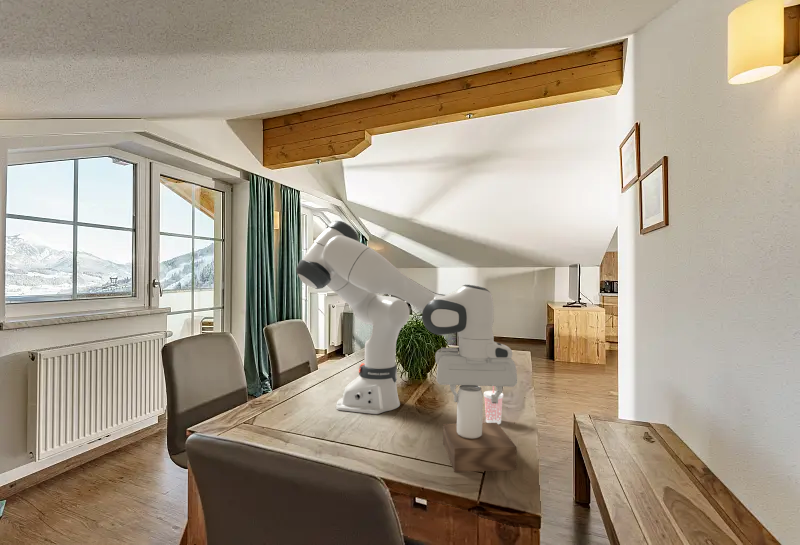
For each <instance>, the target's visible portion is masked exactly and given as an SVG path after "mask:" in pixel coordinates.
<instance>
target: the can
mask: <svg viewBox="0 0 800 545" xmlns="http://www.w3.org/2000/svg"><path fill="white" fill-rule="evenodd" d="M458 388H459V389H458V391H457V394H458V396H459V397H458V402H456V424H457V433H458V435H459V436H461V437H463V438H467V439H477V438H479V437H480V436H481V435H482V423H483V413H484V410H483V407H484V404H483V403H484V393H483V392H482V387H481V386H473V385H458Z"/></svg>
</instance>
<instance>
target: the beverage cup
mask: <svg viewBox="0 0 800 545" xmlns="http://www.w3.org/2000/svg"><path fill="white" fill-rule="evenodd" d="M496 391H497V390H495V386H492V390H486V391H484V392H483V398H484V410H485V411H484V412H485V423H497V424H498V425H500V424H502V414H503V412H502V411H503V410H502V409H503V398H504V393H503V392H501V394H500V396H499V397H498V404H495V403H492V402H491V399H492V398H491V395H494V394H495V393H496Z"/></svg>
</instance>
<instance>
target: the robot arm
mask: <svg viewBox="0 0 800 545" xmlns="http://www.w3.org/2000/svg"><path fill="white" fill-rule="evenodd" d="M325 228H326V229H324V230H323V231H322V232H321V233H320V234H319V235H318V236H317V237H316V238H315V240H313V242H312V245H310V247H309V249H308V250H307V251H306V253H305V254H304V256H303V257H302V259H300V260H299V262H298V264H297V265H296V268H295V270H296V275H297V276H298V278H299V279H300V281H301V282H302V283H303V284H304V285H306V286H308V287H310V288H312V289H316V290H320V289H324V288H325V287H326V286H327V287H328V288H329V289H331V291H333V292H334V293H335V294H336V295H337V296H338V297H339V298H341V299H342V300H343V301H344V302H345V303H346V304H348V306H349V307H350V308H351V310H352V313H353V316H354V318H355V319H356V320H357V321H359V322H360V323H362V324H365V325H367V326H368V325H369V326H372V330H371V334H370V337H369V338H368V339H367V340H366V341H365V344H364V362H362V363H361V364H360V365H359V368H358V376H357V377H355V378H354V379H353V380H352V381H350V382H349V383H348V384H346V386H345V387H344V391H343V392H342V393H343V395H342V397H339V399H338V400H337V402H336V405H335V408H336V409H337V410H338V411H343V412H345V411H346V412H353V413H354V412H356V413H364V414H371V415H379V414H381V413H385V412H388V411H392V410H396V409H397V408H399V407H400V405H401V402H400V400H399V395H398V387H397V379H398V369H397V368H398V366H397V364H396V360H397V359H396V358H397V357H396V356H397V352H396V351H397V350H396V348H397V340H398V338H399V334H400V331H401V330H402V328H403V327H404V326H405V325H406V324H407V323H408V321H409V319H410V308H409V305H408V304H410V305H411V306H412V307H415V308H416V309H418V310H420V311H421V312H422V314H421V319H422V323H423V325H424V327H425V329H426V330H428V332H430V333H432V334H434V335H437V336H446V335H449V334H456V333H457V334H458V347H441V348H440V349H438V350H436V352H435V355H434V358H435V363H436V364H437V368H436V382H437V383H438V385H444V386H445V385H446V386H447V385H448V386H449V388H450V391H451V393H452V395H453V399H454V400H453V402H454V403H457V402H458V397H459V396H458V392H457V391H456V389H457V387H456V386H461V385H473V386H479V387H481V386H482V387H493V386H494V387H495V389H496V390H495V391H496V393H495V394H494V395H491V398H492V399H491V402H492V403H495V404H498V397H499V396H500V394H501V393H503V391H504V390H503V388H504V387H507V388H508V387H510V388H514V387H515V386H516V385H517V383H518V374H517V366H516V363H515V361H514V360H513V359H512V357H513V350H512V349H511V348H510V347H509V346H507V345H505V344H503V343H500V342H497V341H494V340H495V339H494V338H495V336H494V333H493V324H494V319H495V311H494V310H495V309H494V307H495V306H494V299H493V294H492V293H491V291H489V290H488V288H485V287H482V286H478V285H472V284H464V285H461V286H460V287H459V288H458V289H456V290H454V291H452V292H450V293H447V294H443V293H442V294H441V293H437V292H434V291H432V290H431V289H428V288H427V287H425V286H423V285H421V284H420V283H418V282H417V281H415V280H413V279H411V278H409V277H408V276H407V275H405V274H404V273H403V272H401V270H399V269H398V268H397V267H396V266H395V265H394V264H392V263H391V262H390V260H388V259H387V258H385V257H384V256H383V255H382V254H380V253H379V252H377V251H376V250H375V249H373V248H371V247H370V246H368V245H366V244H364V243H362V242H361V241H359V235H358V233H357V231H356V230H355V229H354V228H353V227H352V226H351V225H349V224H348V223H346V222H344V221H342V220H334V221H332V222H331V223H330V224H328V225H327V226H326V227H325ZM380 294H382V295H380ZM388 295H389V296H388Z"/></svg>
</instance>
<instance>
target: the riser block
mask: <svg viewBox="0 0 800 545" xmlns="http://www.w3.org/2000/svg"><path fill="white" fill-rule="evenodd" d="M442 426H443V428H442V432H443V433H442V438H443V440H442V445H443V447H444V450H445V452H446V454H447V457H448V459H449V462H450V464H451V467H452V469H453V472H454V473H460V472H461V473H463V472H464V473H466V472H468V473H469V472H470V473H471V472H492V471H493V472H494V471H495V472H496V471H498V472H499V471H501V472H502V471H517V470H518V469H517V465H518V464H517V462H518V461H517V458H518V456H517V454H518V453H517V452H518V451H517V445H516V444H515V443H514V442H513V441H512V440H511V438H510V437H509V436H508V435H507V433H506V432H505V431H504V429H503V428H502V427H501V426H500V424H497V423H487V422H482V435H481V436H480V437H479V438H477V439H467V438H463V437H461V436H459V435H458V433H457V423H443V424H442Z"/></svg>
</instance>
